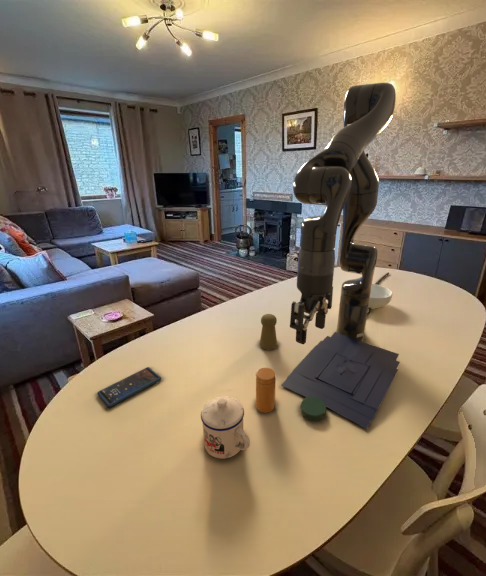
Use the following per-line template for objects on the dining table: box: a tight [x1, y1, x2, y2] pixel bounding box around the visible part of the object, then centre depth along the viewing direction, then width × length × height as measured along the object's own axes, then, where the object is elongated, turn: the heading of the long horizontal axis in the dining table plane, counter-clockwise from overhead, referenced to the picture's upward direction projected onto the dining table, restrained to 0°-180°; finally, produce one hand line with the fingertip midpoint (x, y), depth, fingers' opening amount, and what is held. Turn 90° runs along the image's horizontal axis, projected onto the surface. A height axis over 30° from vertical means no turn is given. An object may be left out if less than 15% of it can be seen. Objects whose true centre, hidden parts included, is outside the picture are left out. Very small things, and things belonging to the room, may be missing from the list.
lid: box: [300, 397, 327, 421], centre depth 76 cm, size 6×6×2 cm
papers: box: [281, 331, 401, 429], centre depth 88 cm, size 24×30×4 cm
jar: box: [255, 367, 277, 413], centre depth 76 cm, size 5×5×10 cm
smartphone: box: [96, 366, 162, 408], centre depth 84 cm, size 8×1×15 cm
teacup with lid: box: [200, 395, 251, 460], centre depth 65 cm, size 12×9×12 cm
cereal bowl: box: [368, 283, 393, 310], centre depth 131 cm, size 17×17×7 cm
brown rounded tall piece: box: [259, 313, 278, 351], centre depth 102 cm, size 6×6×11 cm
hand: (310, 334), depth 71 cm, fingers open, 8 cm apart
